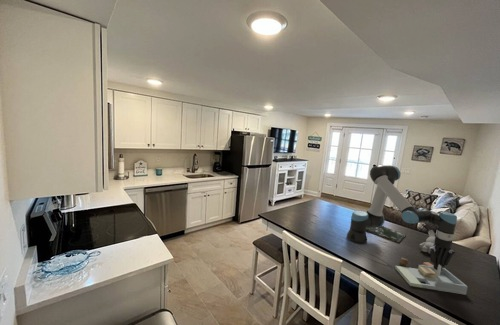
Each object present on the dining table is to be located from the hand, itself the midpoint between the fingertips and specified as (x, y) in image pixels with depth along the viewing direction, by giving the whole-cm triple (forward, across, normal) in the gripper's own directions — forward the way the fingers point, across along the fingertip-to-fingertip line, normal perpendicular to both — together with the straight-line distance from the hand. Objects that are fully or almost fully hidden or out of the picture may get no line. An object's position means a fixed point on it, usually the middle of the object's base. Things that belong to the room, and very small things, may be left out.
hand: (436, 274), depth 123 cm
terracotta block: (+3, +2, +9) cm, 10 cm away
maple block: (+1, -5, 0) cm, 5 cm away
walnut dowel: (+3, -13, +9) cm, 16 cm away
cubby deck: (+3, -7, -3) cm, 9 cm away
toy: (+3, +25, +41) cm, 48 cm away
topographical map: (+4, -2, +64) cm, 64 cm away
